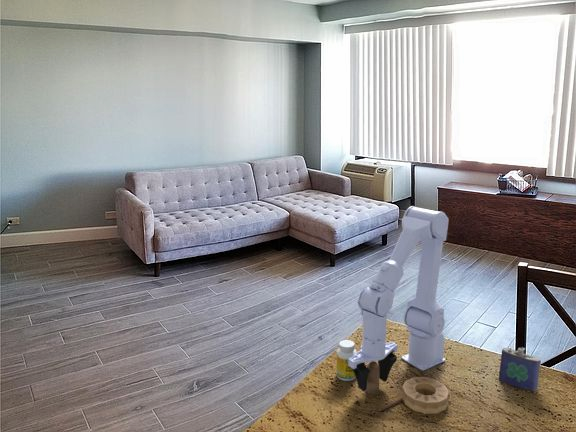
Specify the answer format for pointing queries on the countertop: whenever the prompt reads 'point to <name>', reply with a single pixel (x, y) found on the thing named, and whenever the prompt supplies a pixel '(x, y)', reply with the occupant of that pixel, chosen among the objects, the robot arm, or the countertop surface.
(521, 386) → the flask
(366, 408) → the countertop surface
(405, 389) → the wooden ring with handle
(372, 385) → the brown rounded cylinder
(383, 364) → the robot arm
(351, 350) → the supplement bottle
